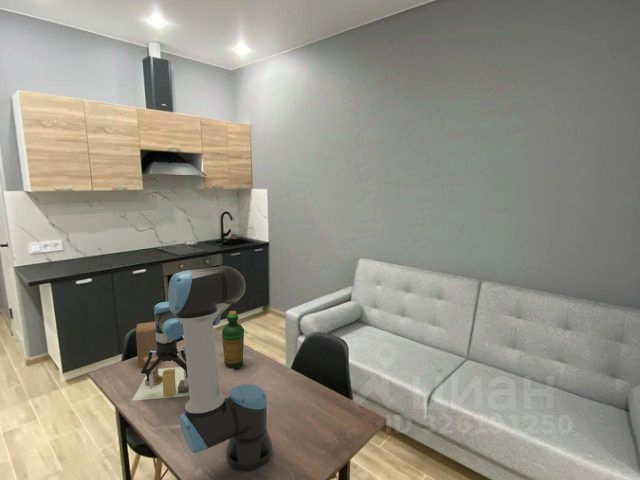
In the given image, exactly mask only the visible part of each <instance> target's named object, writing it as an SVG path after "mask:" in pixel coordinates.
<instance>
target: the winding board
mask: <svg viewBox="0 0 640 480" xmlns="http://www.w3.org/2000/svg"><path fill="white" fill-rule="evenodd" d="M165 369H175V383H176V391H175V394H174V396H164V395H163V381H162V382H161V383H160V384H158V385H155V386H153V388H152V389H150V386H147V385H146V384H145V380H146V379H147V375H146V374H145V376H144V379H143V380H142V382H141V383H140V385H139V387H138V389H137V390H136V392H135V394H134V396H133V398H132V402H133V401H144V400H155V399H167V398H168V399H169V398H180V397H189V391H188V392H187V393H178V385H179V383H180V380H184V371H185V370H184V369H183V368H181V367H180V366H178V367H164V368H158V374H159V375H160V376H162V374H163V372H164V370H165Z"/></svg>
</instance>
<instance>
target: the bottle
mask: <svg viewBox="0 0 640 480" xmlns="http://www.w3.org/2000/svg"><path fill="white" fill-rule="evenodd" d="M226 317H227V318H226V321H227V323H228V324H226V325H224V327H223V328H222V329H221V339H222V341H221V342H222V350H223V362H224V365H225V367H226V368H228V369H233V370H237V369H239V368H240V369H241V367H242V366H243V364H244V343H245V340H244V339H245V328H244V327H243V326H242V325H241V324H240V323H238V320H239V315H238V313H237V311H236V310H230V311H229V312H228V314H227V316H226Z"/></svg>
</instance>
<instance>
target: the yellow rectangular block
mask: <svg viewBox="0 0 640 480" xmlns="http://www.w3.org/2000/svg"><path fill="white" fill-rule="evenodd" d="M162 379H163V395H164V396H174V394H175V391H176V383H175V369H165V370H164V372H163V374H162Z"/></svg>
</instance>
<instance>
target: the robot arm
mask: <svg viewBox="0 0 640 480" xmlns="http://www.w3.org/2000/svg"><path fill="white" fill-rule="evenodd" d="M246 287H247V286H246V280H245V277H244V276H243V275H242V273H241V272H240V271H239V270H237V269H235V268H233V267H231V266H228V265H219V266H212V267H206V268H205V267H204V268H198V269H197V268H196V269H188V270H183V271H179V272H176V273H174V274H173V275H172V276H171V277H170V280H169V282H168V290H167V301H163V302H159V303H156V304H155V305H154V312H153V314H154V322H155V326H156V340H157V342H156V343H157V351H153V350H151V351H150V352H149V356H148V359H147V361H146V363H145V365H144V367H143V368H142V370H141V371H140V373H141V374H145V376H146V375H147V381H149V383H150V389H152V388H153V386H154V381H153V371H152V370H153V369H154V368H155V367H156V365H157V364H158V363H159V362H160V361H161V362H163V363H164V362H172V361H173V362H174V363H176V364H177V365H178V367H181V368H183V369H184V370H185V371H184V384H185V387H187V384H188V385H189V395H188V397H189V400H188V401H187V402H186V404H185V405H184V409H185V412H184V413H182V414H180V415H179V424H180V429H181V432H182V436H183V438H184V441H185V443H186V445H187V447H188V449H189V451H191V452H192V453H194V454H198V453H201V452H203V451H207V450H209V449H210V448H212V447H215V446H217V445H219V444H222V443H224V442H226V441H228V442H227V445H226V449H225V452H226V454H225V455H226V456H225V457H226V461H227V464H228V465H229V466H230V467H231V468H232V469H235V470H237V471H241V472H248V471H254V470H256V469H257V470H258V469H259V468H261V467H263V466H264V465H266V463H268V462H269V460H270V459H271V456H272V453H273V443H272V440H271V437H270V434H269V433H268V430H267V428H268V427H267V425H268V423H267V422H268V421H267V418H268V417H267V415H268V414H267V411H268V410H267V409H268V408H267V407H268V402H267V394H266V391H265V390H264V388H263V387H260V386H259V385H255V384H251V383H242V384H239V385H236V386H234V387H233V388H232V389H231V390H230V392H229V396H228V397H225V395H224V394H222V393H220V388H219V386H220V385H219V377H218V376H219V375H218V365H217V356H216V355H217V352H216V344H215V343H216V342H215V332H214V327H215V326H218V325H219V324H220V322H221V319H222V316H221V315H222V314H223V313H224V312H225V311H226V310H227V309H228V308H229V307H230V306H231V305H233V304H236V303H238V301H240V300H241V298H243V296H244V294H245V292H246ZM182 337H183V341H184V342H183V343H184V347H182V348H181V349H178V348H177V347H178V343H177V340H179V339H180V338H182ZM155 354H156V355H157V356H158V359H157V360H156V361H155V362H154V363H153V364H152V366H151V367H150V368H149V369H148V365H149V363H150V361H151V359H152V357H154V355H155ZM178 354H179V355H180V356H181V357H182V359H181V358H180V356H179V355H178Z"/></svg>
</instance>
